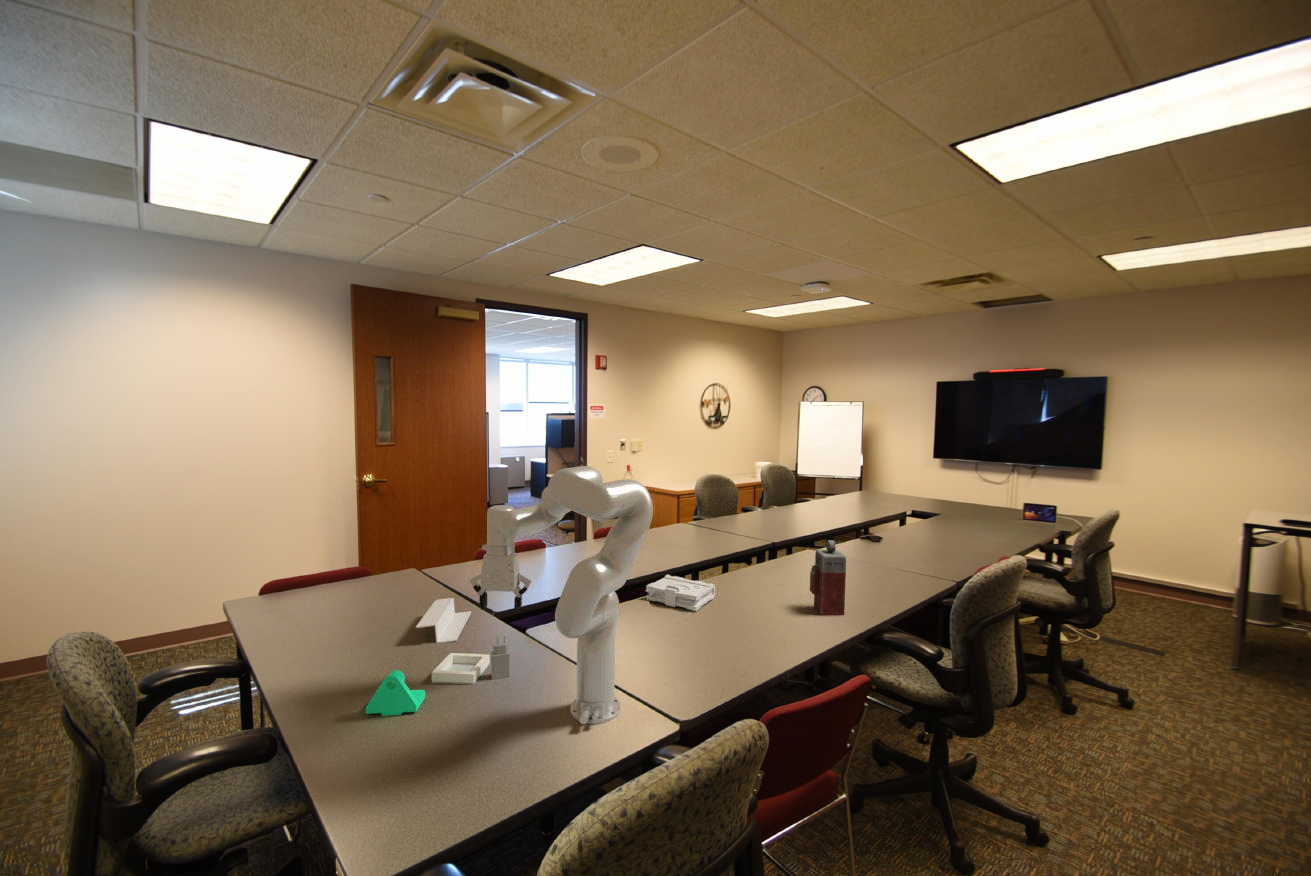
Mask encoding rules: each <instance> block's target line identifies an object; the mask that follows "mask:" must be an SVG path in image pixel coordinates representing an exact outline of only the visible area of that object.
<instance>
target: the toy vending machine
mask: <svg viewBox="0 0 1311 876" xmlns="http://www.w3.org/2000/svg"><path fill="white" fill-rule="evenodd" d="M825 547H826V549H817V550H815V556H814V557H815V558H814V559H815V561H814V565H812V566H811V568H810V569H811V570H810V574H809V591H810V592H811V594H812V595H814V596H813V608H814V609H815V611H816V612H817V613H818V614H819V615H820V616H823V617H825V616H827V617H828V616H829V617H830V616H845V606H846V605H845V604H846V602H845V601H846V581H847V579H846V575H847V574H846V572H847V556H846V555H845V554H843V553H842V552H841V551H839V550H838V549H837V547H836V541H835V540H830V539H827V540H826V543H825Z"/></svg>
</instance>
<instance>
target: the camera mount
mask: <svg viewBox="0 0 1311 876" xmlns="http://www.w3.org/2000/svg"><path fill="white" fill-rule="evenodd" d="M405 680H406V676H405V674H404V672H403V671H401V670H398V669H395V670H394V669H393V670H391V671H390V672H389V673H388V674H387V675H386V676H385V678H384V679H383V680H382V682H381V684H380V685H379V686H378V688H377V690H376V691H375V693H374V695H372V697H371V699H370V701H369V702H368V704H367V705H366V707H365V714H368V715H369V714H381V717H389V716H401V715H403V713H416V712H418V710H419V709H420V706H421V705H422V703H423V702H424V700H425V698H426V690H425V689H411V690H410V688H409V687H408V685H407V684H406V682H405Z"/></svg>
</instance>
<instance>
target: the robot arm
mask: <svg viewBox="0 0 1311 876" xmlns="http://www.w3.org/2000/svg"><path fill="white" fill-rule="evenodd" d="M571 511H572V512H575V513H576V514H579V515H581V516H584V517H586V518H588V519H591V520H593V521H598V522H599V521H601V522H602V521H603V522H605V521H608V520H612V519H616V518H618V519H617V520H616V522H615V523H614V524H613V525H612V527H611V528H610V530H609V531H608V533H607V535H606V538H605V541H604V542H603V545H602V547H601V549H600V551H599V552H598V553H596V554H595V555H592V556H590V557H588V558H585V559H583V560H581V561H579V562H577V564H576V565H575V566H574V567H573V568H572V569H571V571H570V573H569V574H568V577H567V580H566V582H565V584H564V587H563V589H562V592H561V595H560V596H559V597H560V598H559V600H558V602H557V605H556V608H555V613H554V619H555V620H554V622H555V626H556V629H557V630H558V631H559V633H560V634H561V635H562V636H563V637H565V638H567V639H577V642H576V699H574V700H573V701H572V702H571V703H570V707H569V708H570V709H569V710H570V711H569V713H570V715H571V717H572V718H573V719H574V720H575V721H577V722H578V723H580V724H582V725H586V724H587V725H600V724H601V725H602V724H605V723H607V722H610V721H612V720H614V719H615V718H617V716H619V714H620V713H621V702H620V700H619V699H617V698H616V697H615V678H616V677H615V674H616V673H615V672H616V671H615V669H616V667H615V665H616V664H615V663H616V659H615V658H616V632H617V631H616V630H617V624H618V619H619V613H620V601H619V598H618V594H617V592H616V591H618V590H619V589H620V588H622V587H623V586H624V585H625V583H626V582H627V580H628V578H629V576H630V573H631V571H632V569H633V567H634V564H635V562H636V559H637V557H638V556H639V555H638V554H639V552H640V549H641V547H642V546H643V543H644V540H645V539H646V536H647V534H648V532H649V530H650V528H651V524H652V520H653V513H654V505H653V499H652V497H651V494H650V492H649V490H648V488H646V486H645V485H644V484H643V483H641V482H640V481H638V480H636V479H631V478H630V479H629V478H628V479H618V480H617V479H616V480H613V481H607V482H604V480H603V475H602V474H601V473H600V472H599V471H598V470H597V468H595V467H593V466H588V465H579V466H572V467H568V468H567V467H565V468H561V469H558V470H556V471H555V472H554V473H553V474H552V475H551V476H550V478H549V481H548V485H547V487H545V488H544V489H543V490H542V492H541V501H540V502H538V503H536V504H535V505H530V506H525V507H520V508H516V509H515V508H514V507H513V506H512V505H507V504H497V505H492V506H490V507H489V508H488V510H487V513H486V517H487V518H486V523H487V524H486V543H485V544H482V546H481V547H482V550H484V551H485V552H486V553H485V554H484V555H483V559H482V563H481V571H480V574H478V575H476V576H474V577H472V578H470V579H469V582H470V583H471V585H472V588H473V589H474V590H473V591H475V592H476V593H477V595H478V597H479V599H478V601H479V602H478V603H479V604H478V605H479V606H480V610H481V611H483V610H485V609H486V608H487V607H488V592H501V593H506V592H507V593H511V592H512V593H513V594H514V595H515V597H514V606H513V607H514V610H513V611H514V612H518V611H519V610H520V609H521V607H522V606H523V605H522V604H523V603H522V602H523V595H524V594H525V593H526V592H527V591H528V589H529V587H530V586H531V583H532V580H531V579H529V578H528V577H526V576H523V574H520V572H521V571H520V563H519V558H518V554H517V552H515V551H516V549H515V547H516V544H515V543H516V542H515V541H516V540H515V539H517V538H520V537H524V536H528V535H531V534H535V533H538V532H539V533H540V532H542V531H544V530H546V529H548V528H549V527H551V526H553V525H555V524H558V522H560V521H561V520H562V519H563V518H564V516H565V515H566V514H568V513H569V512H571ZM479 581H480V582H479ZM521 583H523V587H522V588H521V586H520V584H521Z"/></svg>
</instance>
